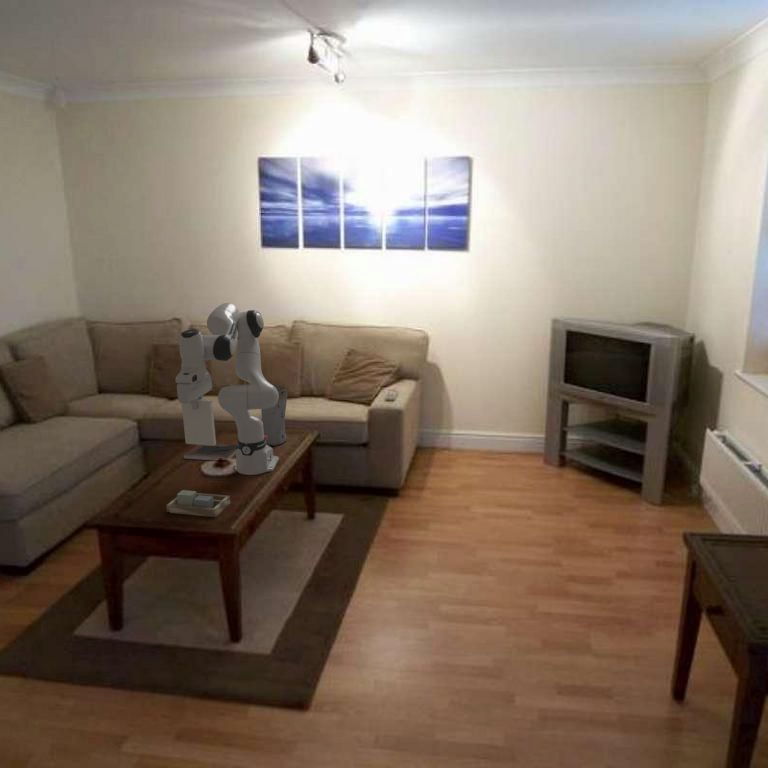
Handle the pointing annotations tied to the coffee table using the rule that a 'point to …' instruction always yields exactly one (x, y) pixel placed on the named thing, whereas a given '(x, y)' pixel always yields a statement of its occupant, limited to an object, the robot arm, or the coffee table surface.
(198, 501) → the slate offcut
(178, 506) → the birch rack
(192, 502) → the sage offcut
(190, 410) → the tall board
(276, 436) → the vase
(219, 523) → the coffee table surface
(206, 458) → the picture frame
